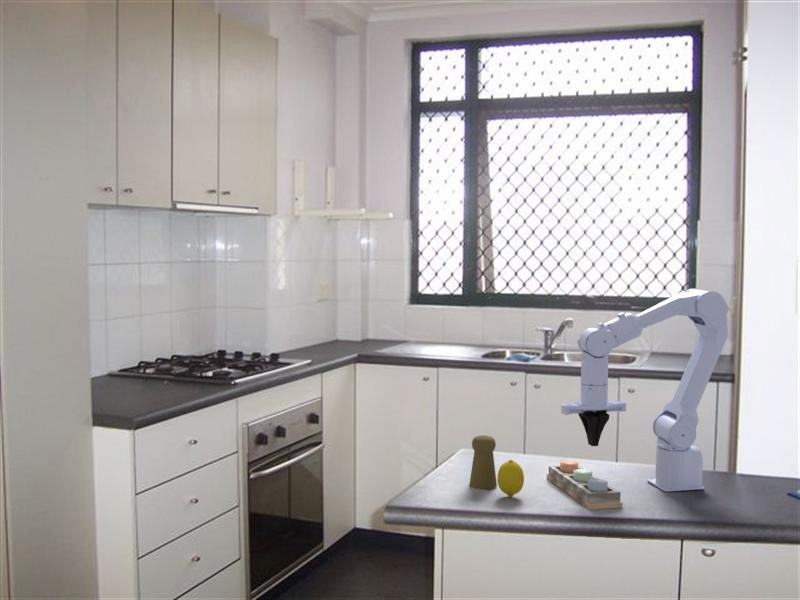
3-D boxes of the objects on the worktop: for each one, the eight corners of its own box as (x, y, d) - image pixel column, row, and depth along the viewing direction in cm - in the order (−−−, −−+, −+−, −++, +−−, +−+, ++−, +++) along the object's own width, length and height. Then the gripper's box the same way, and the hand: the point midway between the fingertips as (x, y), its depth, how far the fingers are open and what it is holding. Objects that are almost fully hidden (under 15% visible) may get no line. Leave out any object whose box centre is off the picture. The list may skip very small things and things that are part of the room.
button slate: (601, 491, 176) (602, 477, 175) (610, 497, 172) (611, 483, 172) (584, 493, 175) (584, 479, 175) (592, 499, 171) (593, 484, 171)
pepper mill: (465, 487, 183) (466, 438, 182) (474, 479, 188) (474, 432, 188) (492, 490, 181) (493, 440, 180) (499, 483, 186) (500, 434, 185)
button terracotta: (573, 473, 189) (573, 460, 189) (581, 478, 185) (581, 465, 185) (556, 474, 188) (557, 461, 188) (564, 479, 184) (564, 466, 184)
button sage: (587, 482, 182) (587, 468, 182) (595, 487, 179) (595, 473, 178) (570, 483, 182) (570, 469, 181) (578, 488, 178) (578, 475, 177)
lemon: (522, 502, 173) (523, 464, 173) (496, 500, 174) (496, 462, 174) (524, 493, 179) (525, 457, 178) (498, 492, 180) (498, 455, 179)
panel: (546, 478, 190) (546, 465, 190) (575, 476, 192) (576, 463, 191) (589, 509, 169) (590, 495, 168) (622, 507, 170) (622, 493, 170)
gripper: (615, 379, 187) (614, 438, 188) (555, 381, 184) (554, 442, 185) (631, 384, 180) (630, 446, 182) (569, 387, 177) (568, 450, 178)
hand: (593, 445), depth 183 cm, fingers closed
